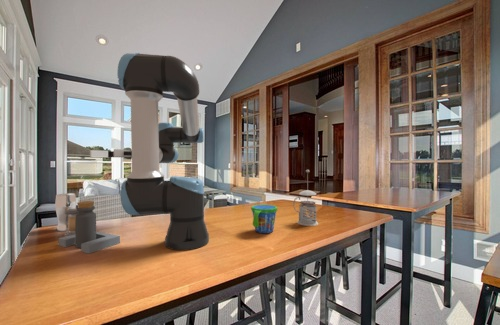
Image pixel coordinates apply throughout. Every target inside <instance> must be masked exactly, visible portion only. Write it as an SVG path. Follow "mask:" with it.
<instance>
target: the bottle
mask: <svg viewBox="0 0 500 325" xmlns="http://www.w3.org/2000/svg"><path fill="white" fill-rule="evenodd" d="M94 202H95V201H94V200H84V201H78V202H76V205H77V207H76V208H77V211H79V214H77V215H76V218H75V232H76V244H75V248H76V249H81V244H82V243H86V242H89V241H92V240H96V231H97V214H96V213H95V212H94V210H95V209H96V208H95V206H94V204H95V203H94Z"/></svg>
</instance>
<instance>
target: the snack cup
mask: <svg viewBox="0 0 500 325" xmlns="http://www.w3.org/2000/svg"><path fill="white" fill-rule="evenodd" d="M250 209H251V212H252V216H253V219H252V226H253V227H254V229H255V232H256V233H259V234H270V233H272V232H273V231H274V228H275V223H276V214H277V211H278V206H276V205H274V204H273V205H272V204H255V205H252V206H251V207H250Z"/></svg>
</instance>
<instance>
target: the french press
mask: <svg viewBox="0 0 500 325" xmlns="http://www.w3.org/2000/svg"><path fill="white" fill-rule="evenodd" d="M305 173H307V179H306V180H307V181H306V182H307V185H306V186H307V190H303V191H300V192H299V193H298V195H300V196H305V197H306V196H307V198H309V197H313V196H317V193H316V192H315V191H312V190H309V173H310V169H306V170H305ZM300 196H296V197H295V198H294V200H293V201H292V202H293V203H292V206H293V210H295V211H296V212H297V213H298V221H297V222H296V223H297V225H301V226H306V227H307V226H309V227H313V226H318V225H319V222H318V221H317V205H315V204H316V201H309V200H303V201H302V200H301V197H300ZM296 200H300V201H299V203H300V204H299V210H297V209H296V206H295V202H296Z"/></svg>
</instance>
